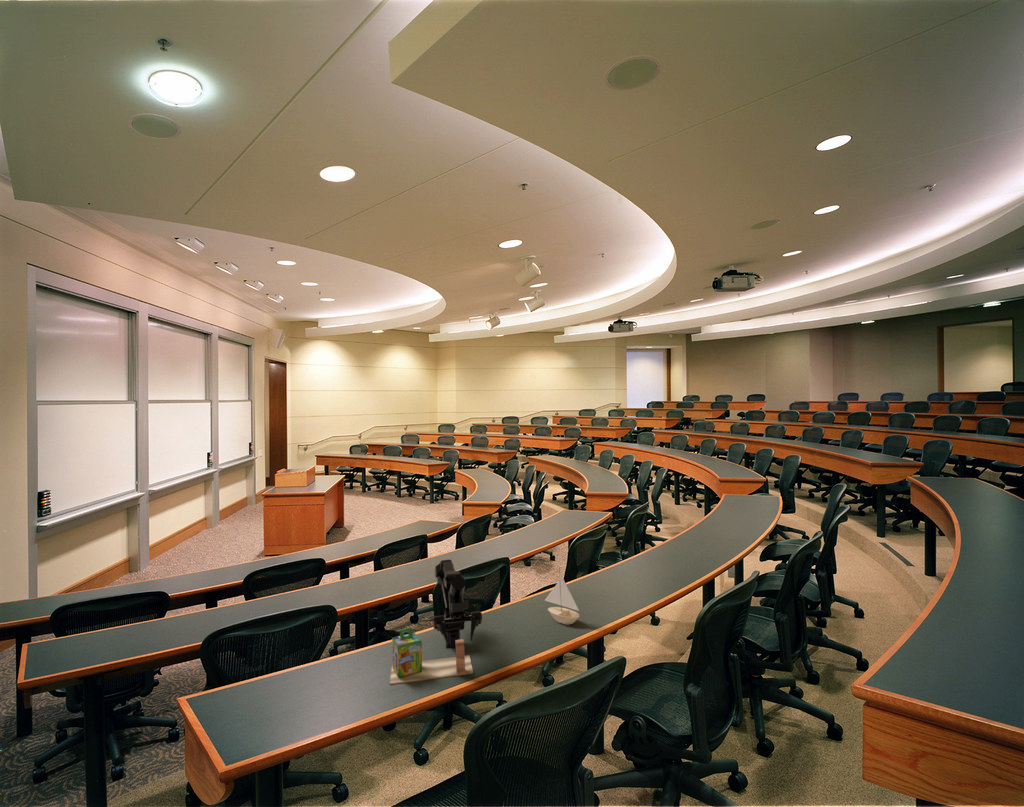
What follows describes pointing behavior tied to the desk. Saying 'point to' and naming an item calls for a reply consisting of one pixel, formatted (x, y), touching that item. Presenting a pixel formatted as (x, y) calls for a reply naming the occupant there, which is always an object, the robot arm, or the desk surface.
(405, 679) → the birch strip
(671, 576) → the desk surface
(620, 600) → the desk surface
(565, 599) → the toy sailboat
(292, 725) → the desk surface
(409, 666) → the chalk box
